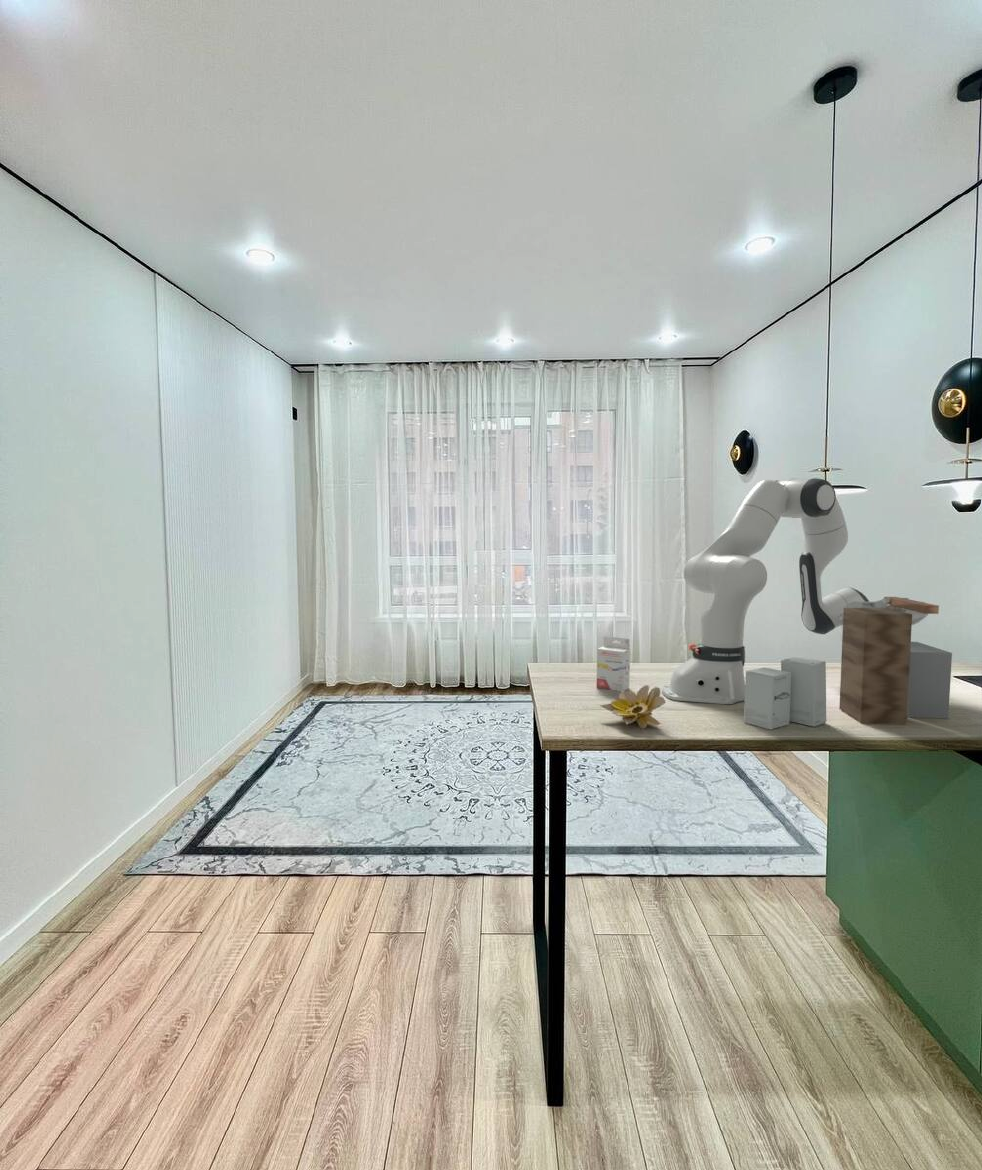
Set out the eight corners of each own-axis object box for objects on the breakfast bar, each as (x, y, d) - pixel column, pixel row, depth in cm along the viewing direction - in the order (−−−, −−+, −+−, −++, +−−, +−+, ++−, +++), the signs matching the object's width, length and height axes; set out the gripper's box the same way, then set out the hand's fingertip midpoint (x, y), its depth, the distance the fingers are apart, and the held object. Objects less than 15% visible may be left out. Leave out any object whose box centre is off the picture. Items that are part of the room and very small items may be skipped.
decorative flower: (591, 708, 154) (601, 669, 153) (630, 714, 158) (641, 677, 157) (619, 730, 140) (631, 688, 139) (662, 737, 143) (673, 696, 142)
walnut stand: (860, 723, 147) (865, 613, 145) (839, 708, 159) (843, 607, 157) (906, 724, 145) (912, 614, 143) (881, 710, 157) (886, 608, 155)
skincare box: (826, 723, 147) (829, 661, 145) (812, 728, 143) (815, 664, 142) (792, 715, 154) (794, 655, 152) (778, 719, 150) (780, 658, 149)
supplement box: (771, 730, 142) (773, 676, 141) (742, 722, 148) (744, 670, 147) (790, 725, 146) (792, 672, 145) (762, 717, 152) (763, 666, 151)
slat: (925, 613, 150) (925, 605, 150) (884, 604, 170) (884, 596, 170) (938, 613, 150) (938, 605, 149) (895, 604, 169) (896, 596, 169)
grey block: (908, 717, 151) (911, 652, 150) (877, 700, 167) (880, 641, 165) (948, 718, 150) (952, 652, 149) (913, 701, 166) (916, 641, 164)
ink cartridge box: (595, 688, 181) (596, 638, 180) (602, 684, 186) (602, 635, 184) (623, 692, 177) (624, 640, 176) (630, 688, 181) (630, 638, 180)
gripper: (834, 609, 181) (853, 589, 168) (910, 609, 178) (935, 589, 166) (838, 629, 178) (857, 611, 166) (915, 630, 175) (941, 611, 163)
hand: (897, 600), depth 166 cm, fingers closed on slat, 3 cm apart
